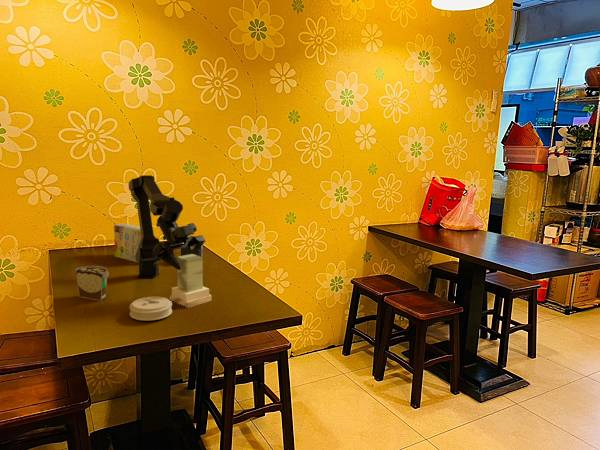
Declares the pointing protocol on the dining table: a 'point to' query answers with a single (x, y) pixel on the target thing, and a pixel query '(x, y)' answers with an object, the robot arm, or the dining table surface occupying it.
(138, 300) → the lid
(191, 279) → the pillar block
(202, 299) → the tower base slab
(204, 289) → the tower top slab
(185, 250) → the small box
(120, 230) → the snack box
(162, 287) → the dining table surface
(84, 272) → the food container
